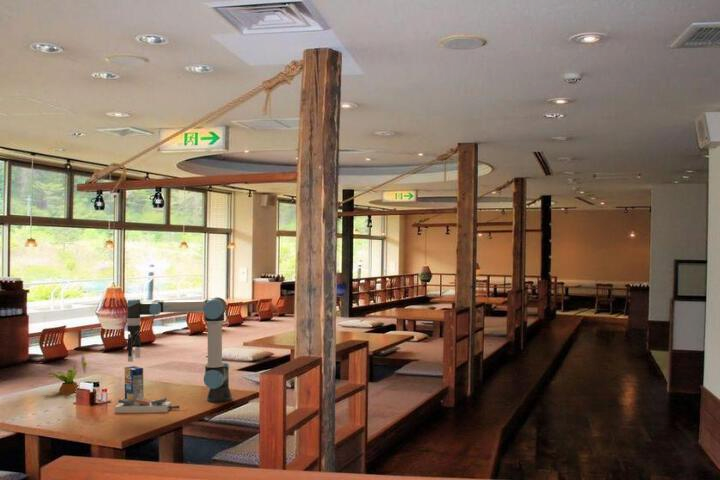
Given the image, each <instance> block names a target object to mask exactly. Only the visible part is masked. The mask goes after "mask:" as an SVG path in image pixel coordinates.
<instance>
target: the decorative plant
mask: <svg viewBox="0 0 720 480" xmlns="http://www.w3.org/2000/svg"><path fill="white" fill-rule="evenodd" d="M80 359H81V361H80V363H81V364H80V366H81V367H82V370H83V373H84V375H86V373H87V365H88V363H87V361H86V359H85V356H84V355H81V357H80ZM75 369H76V364H74V365H73V367H72V370H71V369H67V373H66V375H65V374H64V372H62V371H58V374H61V375H58V374H56V373H53V372H48V375H49V377H48V378H49V379H51V378H52V379H53V378H56V379H58V380H61V381H62V384H61V385H60V388H58V389H59V390H58V394H61V395H67V394H68V395H69V394H76V393H75V391H76V388H77V387H78V386H79V384H77V383H78V382H77V381H74V378H75V376H76V375H77V372H78V370H75ZM50 375H51V376H50Z"/></svg>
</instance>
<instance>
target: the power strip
mask: <svg viewBox="0 0 720 480" xmlns="http://www.w3.org/2000/svg"><path fill="white" fill-rule="evenodd" d="M151 402H152V401H151ZM151 402H150V404H148V405H146V404H141V403H136V402H134V404H132V405H129V404H124V403H118V404H116V405H115V406H114V413H115V414H119V413H120V414H121V413H122V414H123V413H125V414H127V413H128V414H129V413H130V414H131V413H132V414H133V413H168V411H169V410H173V409H175V410H177V409H180V405H172V401H165V402H162V403H157V404H153V405H151Z"/></svg>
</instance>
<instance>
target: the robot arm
mask: <svg viewBox="0 0 720 480" xmlns="http://www.w3.org/2000/svg"><path fill="white" fill-rule="evenodd" d="M126 302H127V303H126V313H127V314H126V315H127V316H126V317H127V318H126V322H127V326H126V327H127V329H126V330H127V332H128V334H127V344H126V351H127V363H128V362H132V363H133V362H134V357H135V359H138V358H139V359H140V358H141V347H142V346H143V345H142V340H141V336H140V334H141V333H140V331H141V316H157V315H160V314H162V313H203V314H204V322H205V323H206V324H207V328H206V329H207V363H206V364H205V365H204V367H205V368H204V372H205V373H204V374H203V382H204V385H205V386H206V388H208V389H209V391H208V393H207V396H206V398H207V399H206V400H207V401H208V402H211V403H221V402H222V403H224V402H228V401H231V400H233V399H232V395H233V394H232V393H231V390H230V386H229V385H230V384H229V383H230V381H229V380H230V379H229V378H230V375H229V374H230V372H229V371H230V370H229V369H230V367H229V363H228V362H223V331H222V330H223V327H222V325H223V322H224V321H225V313H226V311H227V309H228V305H227V302H226V300H225V299H223V298H222V297H213V298H212V297H211V298H210V297H209V298H205V299H203V300H202V299H197V300H195V299H194V300H193V299H192V300H191V299H190V300H187V299H186V300H183V299H182V300H160V299H156V300H153V301H149V302H141V300H140V299H139V298H135V299H134V298H133V299H131V298H130V299H128V300H127V301H126ZM134 345H135V348H134ZM133 349H135V351H133ZM126 351H125V352H126ZM134 353H135V356H134Z"/></svg>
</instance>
